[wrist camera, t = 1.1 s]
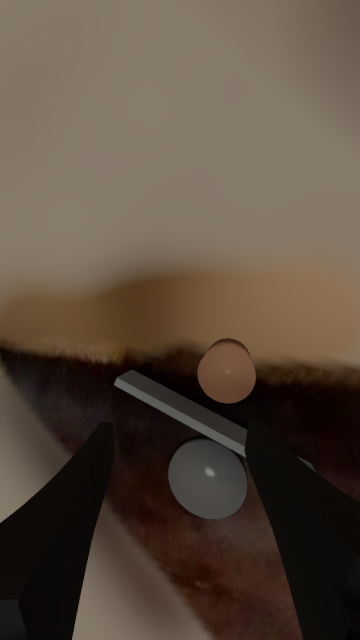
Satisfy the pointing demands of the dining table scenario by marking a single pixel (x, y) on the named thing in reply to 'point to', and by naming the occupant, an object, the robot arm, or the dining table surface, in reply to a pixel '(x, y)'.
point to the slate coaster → (208, 478)
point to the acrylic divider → (186, 411)
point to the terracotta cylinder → (227, 371)
